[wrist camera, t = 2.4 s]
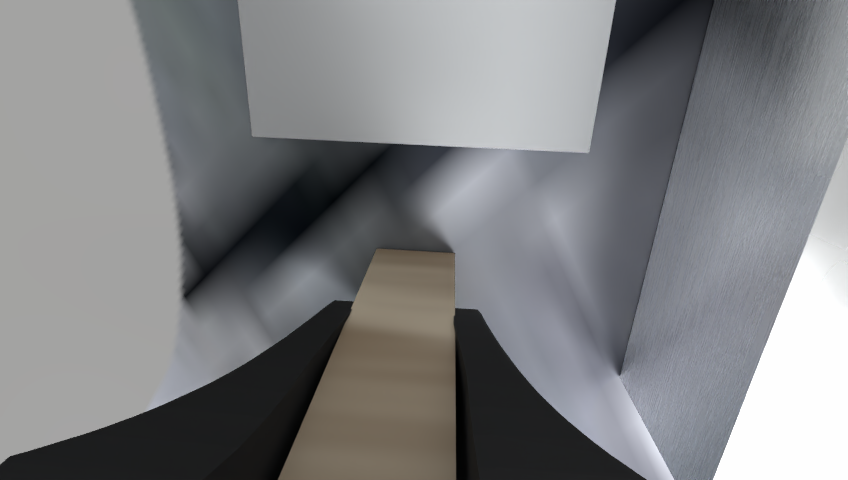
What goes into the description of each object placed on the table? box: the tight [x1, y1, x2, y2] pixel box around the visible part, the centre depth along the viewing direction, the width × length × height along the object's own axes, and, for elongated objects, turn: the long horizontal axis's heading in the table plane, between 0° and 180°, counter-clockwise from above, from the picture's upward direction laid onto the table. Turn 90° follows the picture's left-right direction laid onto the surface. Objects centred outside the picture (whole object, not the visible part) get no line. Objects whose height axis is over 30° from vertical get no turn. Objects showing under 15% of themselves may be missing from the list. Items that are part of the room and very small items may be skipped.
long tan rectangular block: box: [278, 248, 456, 480], centre depth 10 cm, size 2×2×9 cm
